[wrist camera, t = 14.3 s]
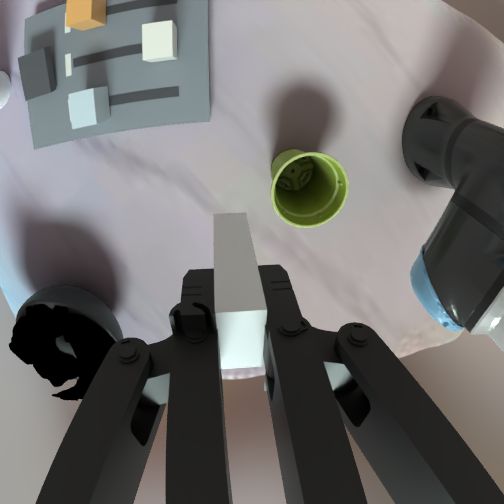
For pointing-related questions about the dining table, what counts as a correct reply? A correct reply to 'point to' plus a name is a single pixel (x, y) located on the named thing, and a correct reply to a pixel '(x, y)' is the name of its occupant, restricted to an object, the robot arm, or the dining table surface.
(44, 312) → the bowl of black rocks
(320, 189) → the plant pot
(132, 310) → the dining table surface
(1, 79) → the foam cup
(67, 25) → the slider orange
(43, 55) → the block
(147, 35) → the slider cream
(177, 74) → the panel
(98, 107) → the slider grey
